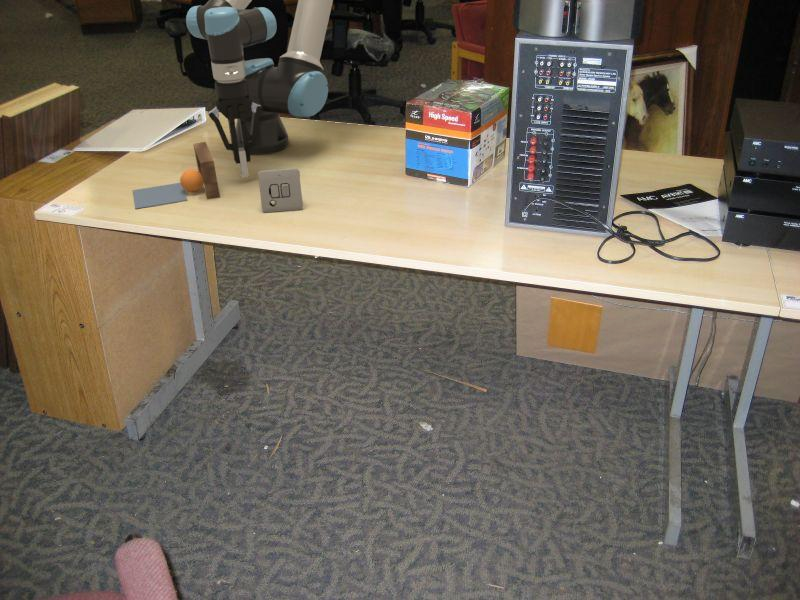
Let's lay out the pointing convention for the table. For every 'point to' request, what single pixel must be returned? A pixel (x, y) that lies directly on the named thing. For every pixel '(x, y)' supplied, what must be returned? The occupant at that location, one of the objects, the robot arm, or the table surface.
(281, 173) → the electrical switch
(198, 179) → the ball
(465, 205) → the table surface
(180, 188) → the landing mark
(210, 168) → the brown bridge block
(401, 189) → the table surface
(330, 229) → the table surface
